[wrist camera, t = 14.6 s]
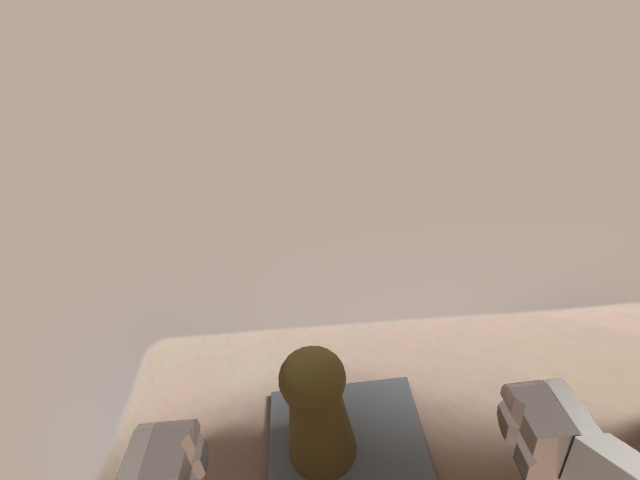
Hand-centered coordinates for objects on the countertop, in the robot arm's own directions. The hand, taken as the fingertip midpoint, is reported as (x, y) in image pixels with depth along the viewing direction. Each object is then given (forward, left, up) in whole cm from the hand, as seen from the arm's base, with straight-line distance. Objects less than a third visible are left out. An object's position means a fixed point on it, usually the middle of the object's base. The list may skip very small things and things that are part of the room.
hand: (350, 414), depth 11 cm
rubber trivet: (0, -15, -26) cm, 30 cm away
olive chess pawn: (+2, -15, -25) cm, 30 cm away
